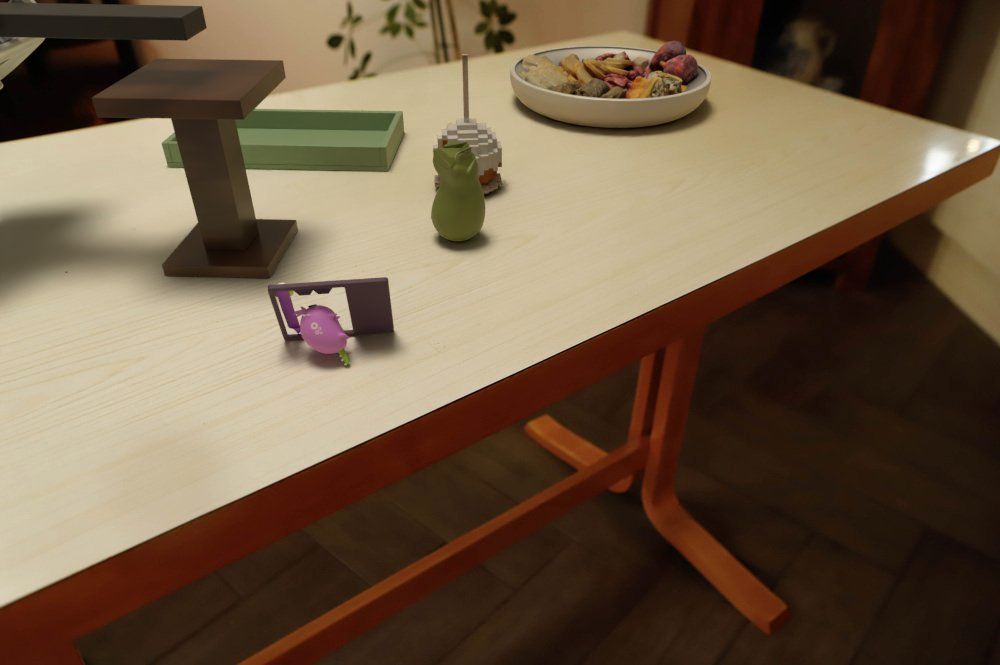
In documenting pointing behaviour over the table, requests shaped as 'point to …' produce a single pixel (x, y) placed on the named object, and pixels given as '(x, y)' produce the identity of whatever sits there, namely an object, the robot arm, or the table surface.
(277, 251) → the walnut stand
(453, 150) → the green rounded figure
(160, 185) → the table surface
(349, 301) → the pop-out character card
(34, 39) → the robot arm
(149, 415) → the table surface
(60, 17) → the black rectangular bar
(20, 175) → the table surface
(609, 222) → the table surface
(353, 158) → the green tray
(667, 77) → the bowl
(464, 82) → the decorative ornament
